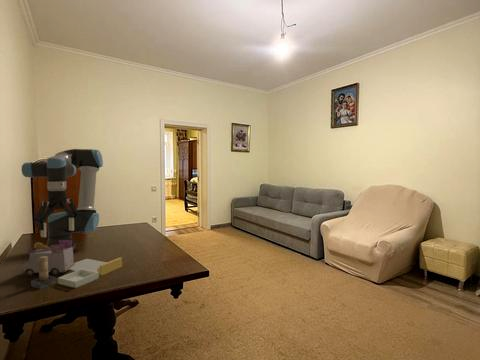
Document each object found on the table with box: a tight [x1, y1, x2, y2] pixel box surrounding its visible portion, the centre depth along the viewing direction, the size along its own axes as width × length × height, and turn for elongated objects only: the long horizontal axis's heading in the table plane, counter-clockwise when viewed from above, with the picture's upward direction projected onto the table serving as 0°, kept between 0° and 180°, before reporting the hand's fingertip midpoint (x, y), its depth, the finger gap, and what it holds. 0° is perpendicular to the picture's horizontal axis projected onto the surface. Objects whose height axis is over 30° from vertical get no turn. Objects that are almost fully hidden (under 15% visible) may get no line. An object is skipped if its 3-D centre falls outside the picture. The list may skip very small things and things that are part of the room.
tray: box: [57, 269, 100, 289], centre depth 115 cm, size 11×11×3 cm
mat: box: [69, 258, 107, 277], centre depth 132 cm, size 26×14×1 cm, turn 68°
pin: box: [38, 256, 49, 282], centre depth 112 cm, size 3×3×12 cm
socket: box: [30, 274, 57, 290], centre depth 112 cm, size 6×6×2 cm
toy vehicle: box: [20, 240, 76, 277], centre depth 124 cm, size 9×20×15 cm, turn 95°
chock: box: [97, 257, 123, 276], centre depth 127 cm, size 3×12×4 cm, turn 158°
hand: (58, 233), depth 126 cm, fingers open, 13 cm apart
